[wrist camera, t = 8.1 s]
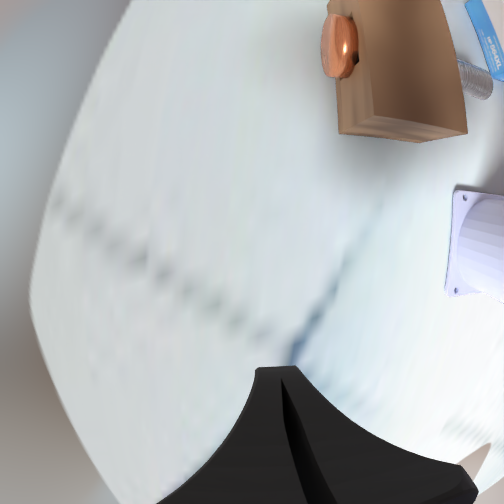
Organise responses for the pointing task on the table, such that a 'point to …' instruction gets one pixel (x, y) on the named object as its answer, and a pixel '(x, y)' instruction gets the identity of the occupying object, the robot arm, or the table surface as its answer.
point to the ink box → (490, 32)
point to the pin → (346, 57)
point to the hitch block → (401, 73)
